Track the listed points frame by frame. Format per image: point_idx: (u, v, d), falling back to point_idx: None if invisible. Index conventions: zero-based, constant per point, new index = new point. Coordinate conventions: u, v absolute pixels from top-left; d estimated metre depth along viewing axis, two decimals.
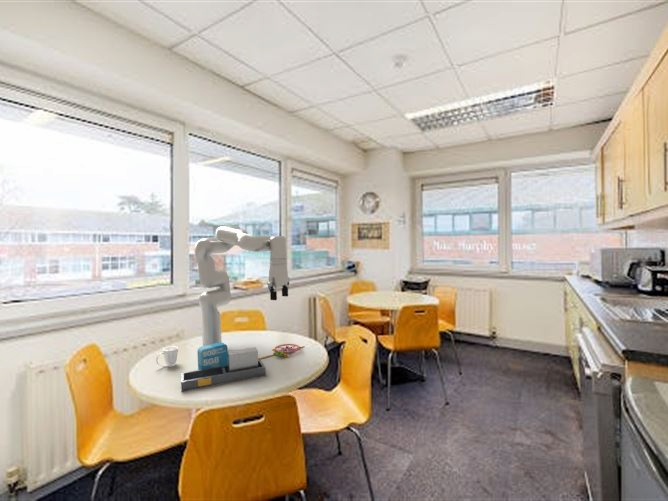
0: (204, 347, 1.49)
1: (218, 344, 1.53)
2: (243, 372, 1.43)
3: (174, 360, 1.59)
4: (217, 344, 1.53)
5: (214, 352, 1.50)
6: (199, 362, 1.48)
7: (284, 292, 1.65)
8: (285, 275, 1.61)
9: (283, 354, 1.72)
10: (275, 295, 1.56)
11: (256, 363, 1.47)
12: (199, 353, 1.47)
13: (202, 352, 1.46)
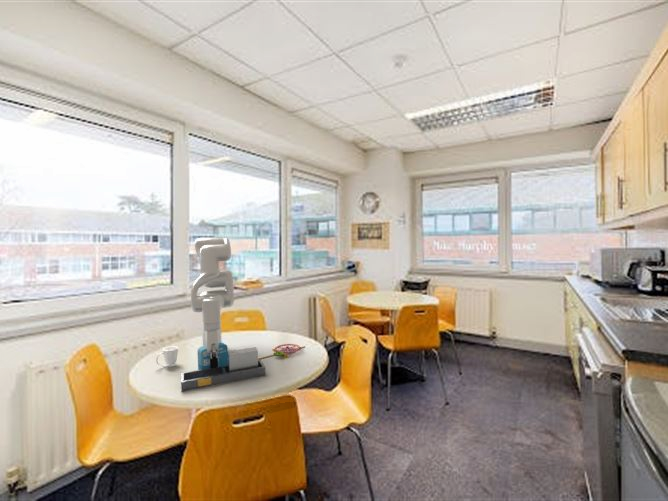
0: (204, 347, 1.49)
1: None
2: (243, 372, 1.43)
3: (174, 360, 1.59)
4: None
5: None
6: (199, 362, 1.48)
7: None
8: None
9: (283, 354, 1.72)
10: (217, 361, 1.48)
11: (256, 363, 1.47)
12: (199, 353, 1.47)
13: (202, 352, 1.46)
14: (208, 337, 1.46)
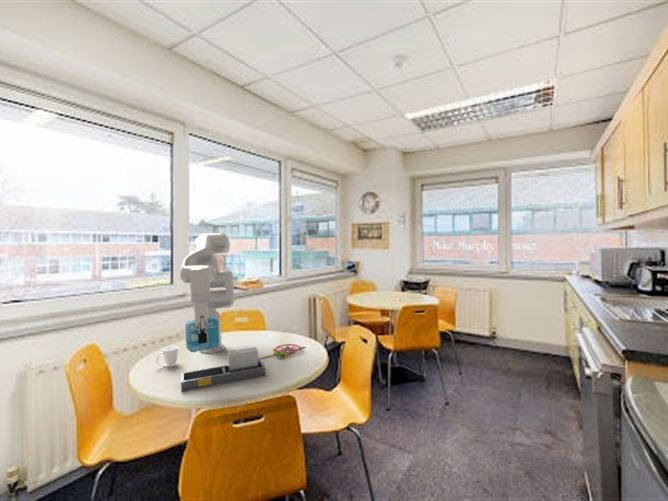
0: (192, 321, 1.38)
1: (208, 318, 1.42)
2: (243, 372, 1.43)
3: (174, 360, 1.59)
4: None
5: None
6: (187, 337, 1.37)
7: None
8: None
9: (283, 354, 1.72)
10: (205, 337, 1.38)
11: (256, 363, 1.47)
12: (187, 327, 1.36)
13: (190, 326, 1.35)
14: (196, 309, 1.35)
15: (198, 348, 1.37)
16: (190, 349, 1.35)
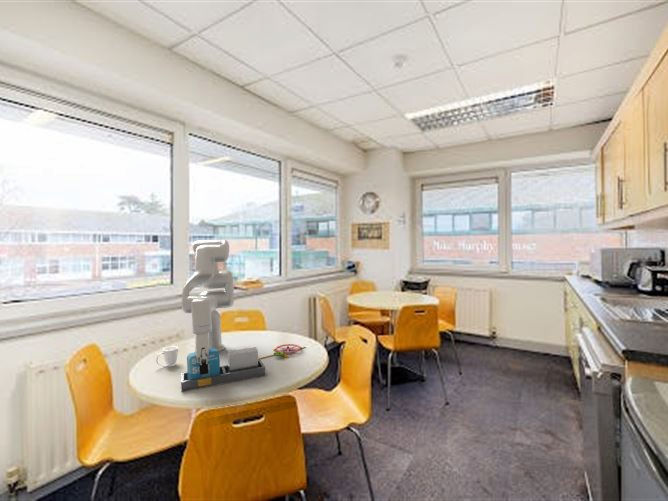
0: (194, 353, 1.39)
1: (209, 350, 1.43)
2: (243, 372, 1.43)
3: (174, 360, 1.59)
4: (209, 350, 1.42)
5: None
6: (188, 369, 1.38)
7: None
8: None
9: (283, 354, 1.72)
10: (207, 368, 1.38)
11: (256, 363, 1.47)
12: (188, 360, 1.37)
13: (191, 359, 1.36)
14: (197, 341, 1.35)
15: None
16: None
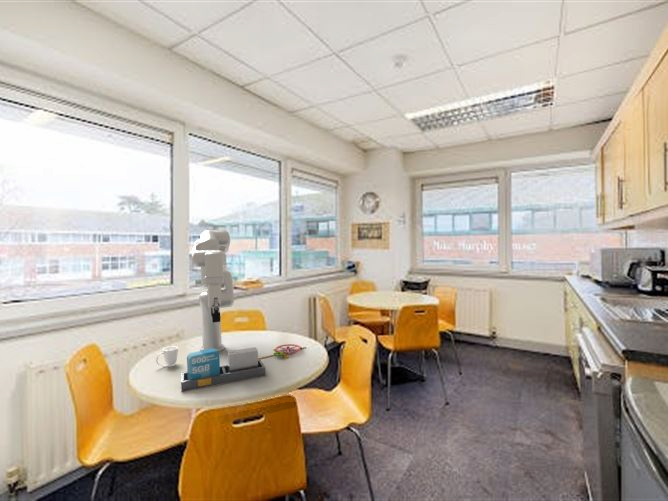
0: (194, 353, 1.39)
1: (209, 350, 1.43)
2: (243, 372, 1.43)
3: (174, 360, 1.59)
4: (209, 350, 1.42)
5: (204, 359, 1.39)
6: (188, 370, 1.38)
7: None
8: None
9: (283, 354, 1.72)
10: (219, 316, 1.44)
11: (256, 363, 1.47)
12: (188, 360, 1.37)
13: (191, 359, 1.36)
14: (210, 291, 1.42)
15: None
16: None
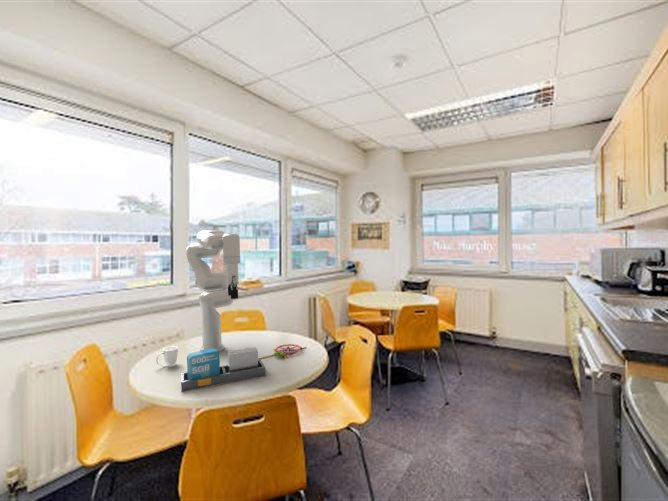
0: (194, 353, 1.39)
1: (209, 350, 1.43)
2: (243, 372, 1.43)
3: (174, 360, 1.59)
4: (209, 350, 1.42)
5: (204, 359, 1.39)
6: (188, 370, 1.38)
7: None
8: None
9: (283, 355, 1.72)
10: (237, 293, 1.54)
11: (256, 363, 1.47)
12: (188, 360, 1.37)
13: (191, 359, 1.36)
14: (229, 269, 1.53)
15: None
16: None
